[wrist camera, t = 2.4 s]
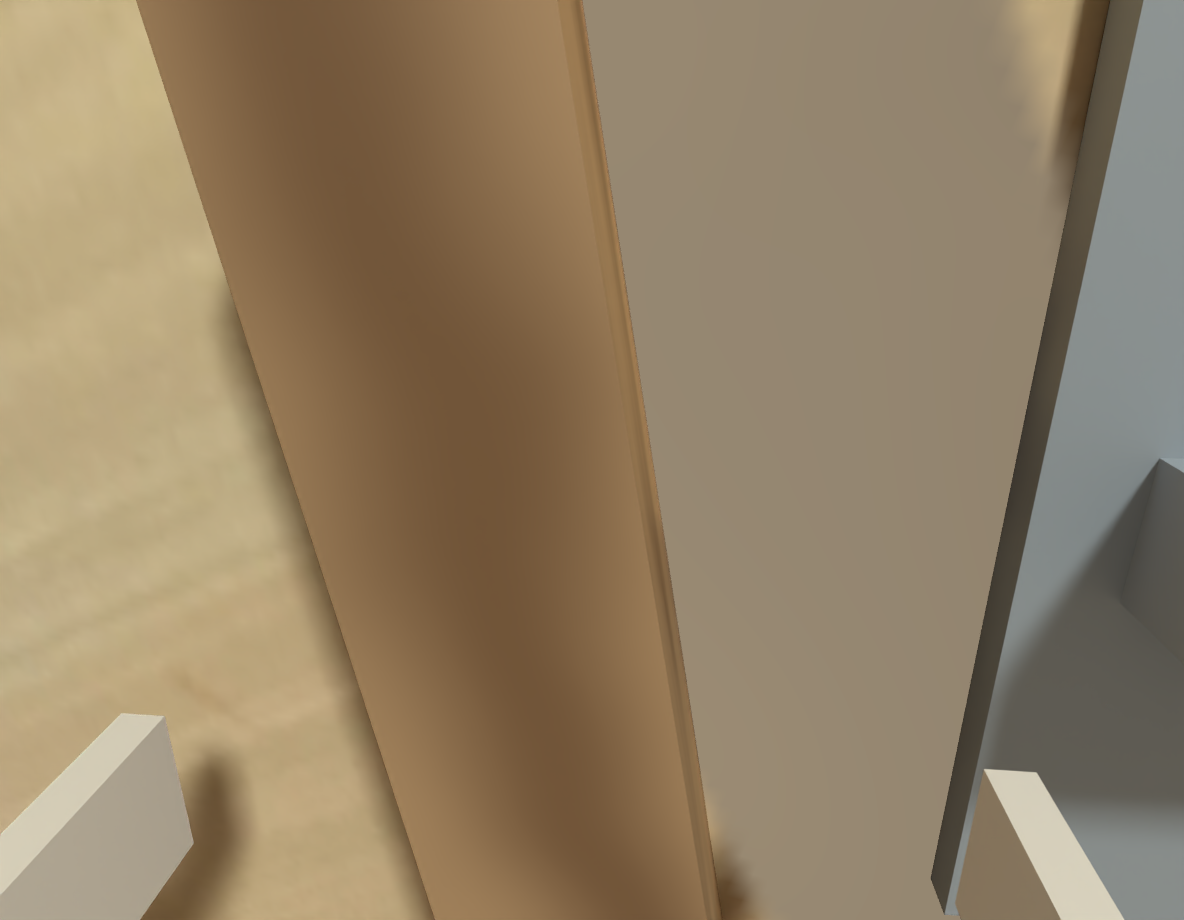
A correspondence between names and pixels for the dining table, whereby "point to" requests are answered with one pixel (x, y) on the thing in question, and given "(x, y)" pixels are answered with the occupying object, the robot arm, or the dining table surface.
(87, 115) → the dining table surface
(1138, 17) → the fulcrum
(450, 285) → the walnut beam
